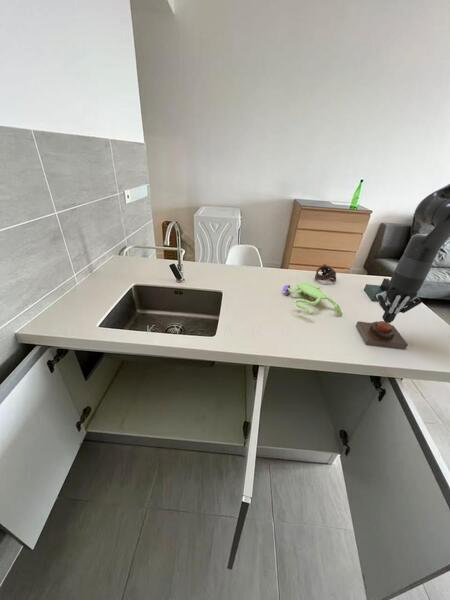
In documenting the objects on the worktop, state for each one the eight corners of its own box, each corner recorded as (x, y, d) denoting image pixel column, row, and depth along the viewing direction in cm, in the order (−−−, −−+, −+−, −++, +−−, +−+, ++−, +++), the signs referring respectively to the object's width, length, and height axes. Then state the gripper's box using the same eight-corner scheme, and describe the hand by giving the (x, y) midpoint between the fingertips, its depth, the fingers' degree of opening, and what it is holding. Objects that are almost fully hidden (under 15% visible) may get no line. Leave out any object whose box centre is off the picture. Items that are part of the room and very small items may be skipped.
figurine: (298, 322, 87) (301, 309, 84) (276, 286, 109) (278, 275, 106) (346, 320, 89) (351, 308, 86) (315, 286, 111) (318, 275, 108)
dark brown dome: (339, 286, 114) (337, 273, 108) (318, 291, 117) (315, 279, 112) (332, 269, 122) (330, 257, 117) (313, 275, 125) (310, 263, 120)
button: (386, 326, 81) (388, 321, 80) (392, 333, 78) (394, 329, 77) (374, 324, 81) (376, 320, 81) (379, 332, 78) (381, 327, 77)
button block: (390, 330, 85) (395, 321, 83) (405, 349, 77) (410, 340, 75) (355, 326, 86) (359, 317, 84) (365, 345, 78) (370, 335, 76)
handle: (379, 287, 107) (384, 277, 104) (384, 287, 106) (388, 278, 104) (385, 293, 102) (389, 283, 99) (389, 294, 102) (394, 284, 99)
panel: (391, 292, 109) (394, 286, 108) (402, 304, 101) (405, 297, 99) (363, 289, 111) (366, 283, 109) (372, 301, 102) (374, 294, 100)
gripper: (427, 269, 72) (402, 317, 81) (380, 264, 73) (361, 312, 82) (443, 280, 65) (414, 331, 74) (392, 275, 66) (369, 325, 75)
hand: (386, 321), depth 78 cm, fingers closed
